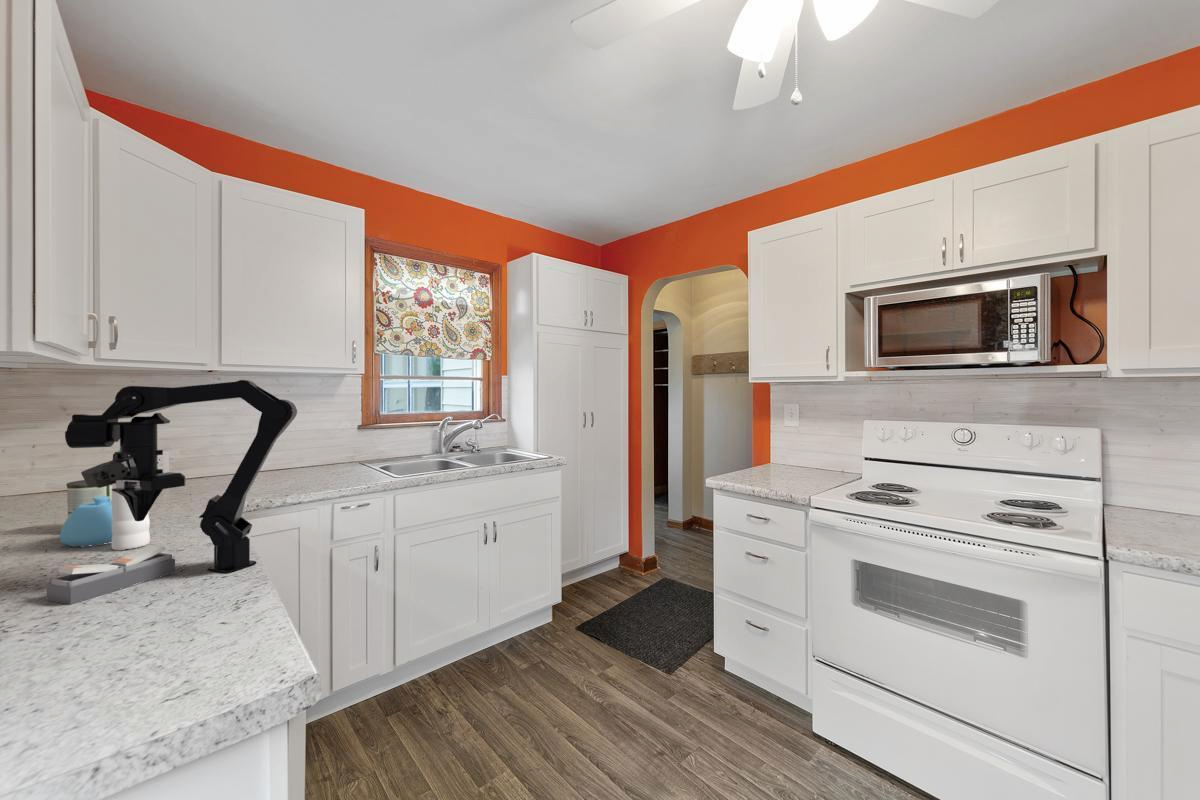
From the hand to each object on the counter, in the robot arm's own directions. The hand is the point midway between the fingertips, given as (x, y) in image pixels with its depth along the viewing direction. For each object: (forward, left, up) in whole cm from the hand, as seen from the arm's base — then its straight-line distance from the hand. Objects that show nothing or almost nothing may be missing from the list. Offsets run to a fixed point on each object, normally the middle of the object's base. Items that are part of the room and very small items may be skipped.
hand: (139, 520), depth 103 cm
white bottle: (+28, -14, -12) cm, 34 cm away
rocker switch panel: (0, +4, -12) cm, 13 cm away
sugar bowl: (+43, -16, -12) cm, 48 cm away
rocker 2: (0, 0, -7) cm, 7 cm away
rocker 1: (0, +8, -7) cm, 11 cm away
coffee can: (+58, -22, -12) cm, 63 cm away
